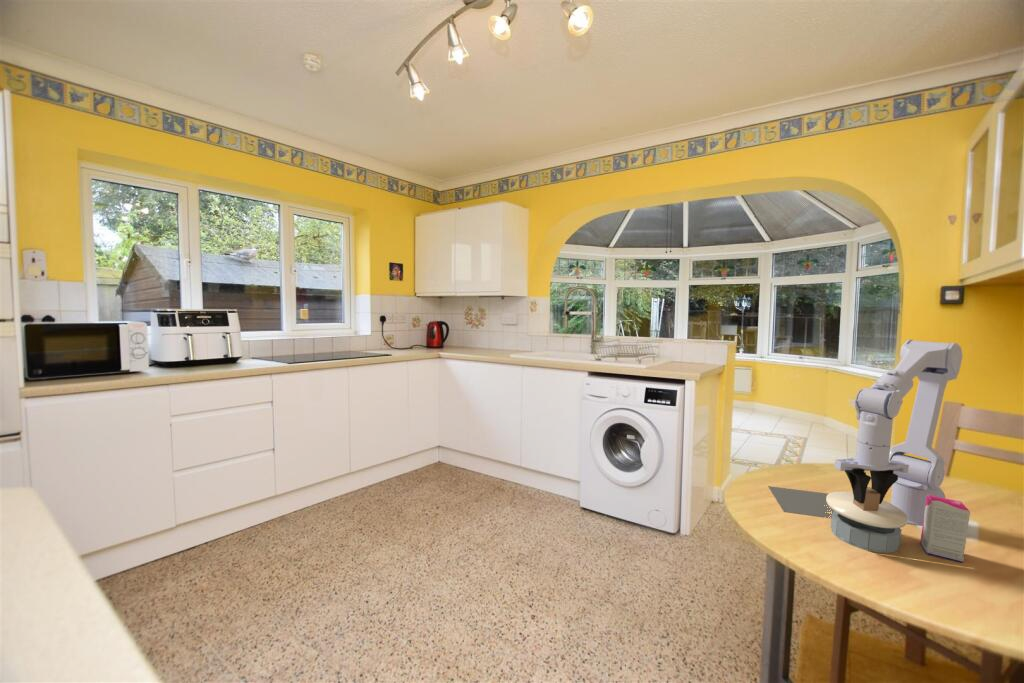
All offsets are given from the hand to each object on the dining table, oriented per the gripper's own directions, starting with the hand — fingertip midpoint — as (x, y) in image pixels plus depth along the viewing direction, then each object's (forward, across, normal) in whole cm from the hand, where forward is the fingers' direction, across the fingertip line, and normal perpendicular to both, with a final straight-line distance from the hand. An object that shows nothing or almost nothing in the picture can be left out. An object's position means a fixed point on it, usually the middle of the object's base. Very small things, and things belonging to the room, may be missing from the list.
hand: (867, 501), depth 100 cm
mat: (+9, +2, -17) cm, 19 cm away
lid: (+2, 0, 0) cm, 2 cm away
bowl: (+9, 0, 0) cm, 9 cm away
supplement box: (+9, -12, +5) cm, 16 cm away
